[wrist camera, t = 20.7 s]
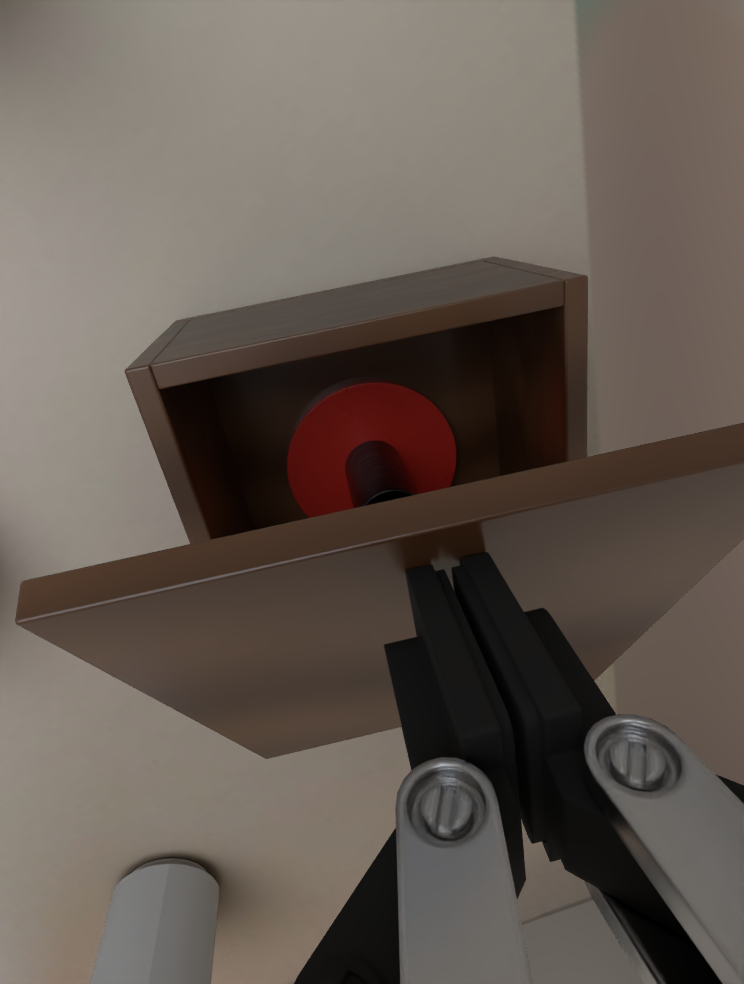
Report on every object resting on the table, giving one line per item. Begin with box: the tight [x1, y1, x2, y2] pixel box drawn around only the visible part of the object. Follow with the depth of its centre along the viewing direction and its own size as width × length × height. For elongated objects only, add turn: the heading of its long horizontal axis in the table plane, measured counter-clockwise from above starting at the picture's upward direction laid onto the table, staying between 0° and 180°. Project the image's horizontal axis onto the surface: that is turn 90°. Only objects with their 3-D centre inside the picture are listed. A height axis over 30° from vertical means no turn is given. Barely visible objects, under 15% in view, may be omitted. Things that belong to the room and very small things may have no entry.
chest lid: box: [15, 423, 744, 759], centre depth 17 cm, size 17×15×1 cm
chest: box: [125, 257, 588, 544], centre depth 25 cm, size 17×15×9 cm
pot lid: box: [287, 379, 456, 518], centre depth 25 cm, size 8×8×6 cm
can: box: [90, 858, 219, 984], centre depth 36 cm, size 8×8×12 cm
